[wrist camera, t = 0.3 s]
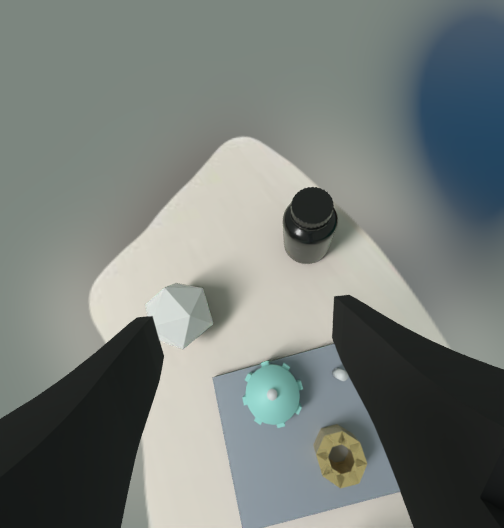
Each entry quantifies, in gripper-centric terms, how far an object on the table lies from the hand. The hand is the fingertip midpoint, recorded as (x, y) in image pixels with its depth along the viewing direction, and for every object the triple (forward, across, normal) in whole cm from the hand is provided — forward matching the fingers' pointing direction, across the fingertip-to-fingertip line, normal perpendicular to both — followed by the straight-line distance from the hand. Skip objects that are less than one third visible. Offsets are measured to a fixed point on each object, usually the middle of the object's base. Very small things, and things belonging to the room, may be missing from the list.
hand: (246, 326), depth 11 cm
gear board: (+14, -6, +27) cm, 31 cm away
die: (+26, +9, +17) cm, 32 cm away
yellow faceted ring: (+11, -9, +28) cm, 31 cm away
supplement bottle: (+30, -10, +9) cm, 33 cm away
